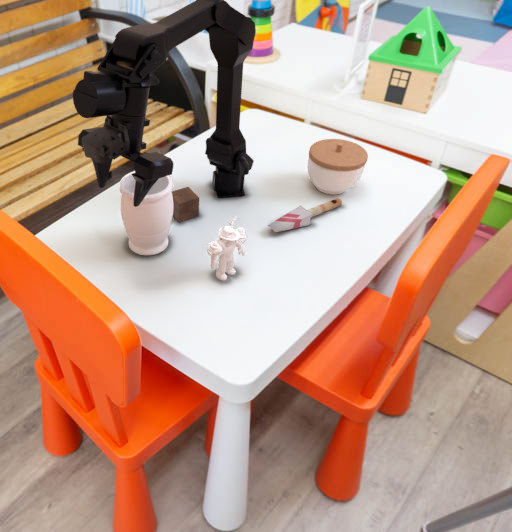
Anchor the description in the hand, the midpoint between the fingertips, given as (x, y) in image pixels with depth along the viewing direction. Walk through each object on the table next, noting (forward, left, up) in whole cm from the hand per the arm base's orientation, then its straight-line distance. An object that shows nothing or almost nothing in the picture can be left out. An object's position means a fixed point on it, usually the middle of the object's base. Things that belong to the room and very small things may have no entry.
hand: (118, 196), depth 97 cm
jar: (-6, -5, -16) cm, 17 cm away
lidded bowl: (-50, -20, -16) cm, 57 cm away
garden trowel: (-40, -8, -16) cm, 44 cm away
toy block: (-14, -14, -15) cm, 26 cm away
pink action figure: (-19, +7, -16) cm, 26 cm away
